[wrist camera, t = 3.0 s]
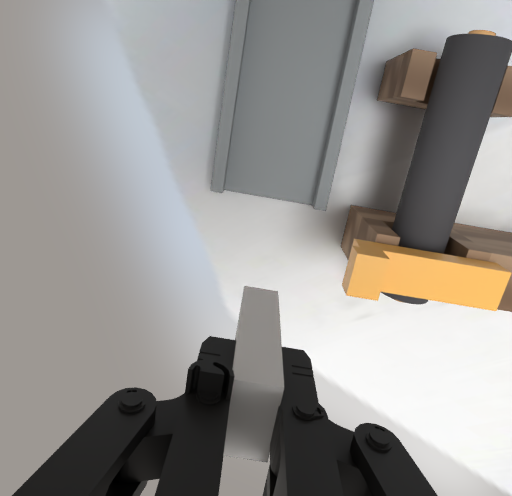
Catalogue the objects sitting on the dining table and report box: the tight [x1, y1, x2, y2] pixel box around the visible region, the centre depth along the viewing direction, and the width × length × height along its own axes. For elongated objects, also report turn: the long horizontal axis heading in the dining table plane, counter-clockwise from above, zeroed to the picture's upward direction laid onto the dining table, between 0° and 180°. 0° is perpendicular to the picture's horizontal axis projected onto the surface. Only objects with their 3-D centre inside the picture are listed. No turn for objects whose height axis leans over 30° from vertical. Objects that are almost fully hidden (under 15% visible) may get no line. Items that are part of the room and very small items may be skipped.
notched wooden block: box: [341, 205, 512, 312], centre depth 32 cm, size 4×16×9 cm, turn 80°
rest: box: [377, 48, 512, 117], centre depth 30 cm, size 3×8×6 cm, turn 80°
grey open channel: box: [211, 0, 374, 211], centre depth 31 cm, size 21×10×2 cm, turn 170°
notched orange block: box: [342, 239, 511, 311], centre depth 26 cm, size 3×10×3 cm, turn 80°
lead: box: [381, 30, 512, 304], centre depth 28 cm, size 19×4×4 cm, turn 170°
